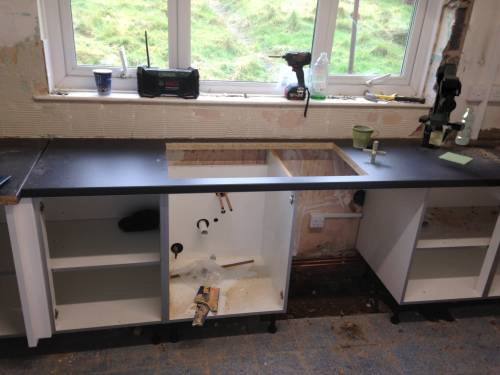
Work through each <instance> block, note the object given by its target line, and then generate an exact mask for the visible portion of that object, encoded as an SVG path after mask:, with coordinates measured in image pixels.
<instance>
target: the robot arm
mask: <svg viewBox="0 0 500 375" xmlns="http://www.w3.org/2000/svg"><path fill="white" fill-rule="evenodd" d="M456 65H457V64H455V63H451V62H444V63H443V65H440V66H438V67H437V69H436V72H435V78H436V80H435V82H436V83H437V88H436V89H437V90H436V94H435V98H434V99H435V100H434V104H433V108H432V112H431V115H428V114H423V115H421V116H419V117H418V123H420V124H424V126H423V129H422V135H423V137H422V142H421V144H420V145H419V146H420V147H422V148H423V147H424V148H427V149H435V148H437V147H438V145H434V144H430V143H429V140H430V136H431V132H434V131H439V132H444V133H445V134H444V137H443V141H442V143H444V142H445V143H446V140H447V139H448V137H449V136H450V134H451V133H453V132H454V131H457V132H458V131H462V130H464V129H465V124H464V123H461V122H460V121H457V120H455V121H454V122H450V121H451V115H452V113H453V111H455V109H456V108H457V105H458V104H457V101H456V99H455V98H456V97H457V98H459V97H460V95H461V94H462V86H463V85H462V82H461V80H460V77H458V76H457V71H458V68H457V67H456ZM444 126H445V127H446V128H445V129H444ZM445 143H444V144H445Z"/></svg>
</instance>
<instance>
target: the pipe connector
mask: <svg viewBox="0 0 500 375" xmlns="http://www.w3.org/2000/svg"><path fill="white" fill-rule="evenodd" d="M378 144H379V141H377V140H374V141H373V146H372V149H369V148H365V149H362V153H363V154H364V153H365V154H370V155H371V157H370V163H371V164H375V162H376V156H377V155H378V156H382V157H385V156H386V154H387V152H386V151H383V150H382V151H381V150H378V146H379V145H378Z"/></svg>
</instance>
